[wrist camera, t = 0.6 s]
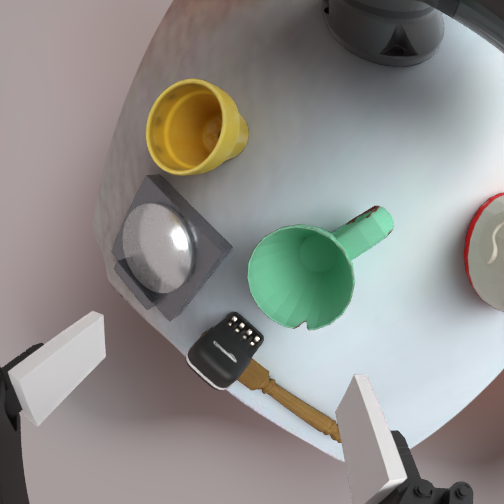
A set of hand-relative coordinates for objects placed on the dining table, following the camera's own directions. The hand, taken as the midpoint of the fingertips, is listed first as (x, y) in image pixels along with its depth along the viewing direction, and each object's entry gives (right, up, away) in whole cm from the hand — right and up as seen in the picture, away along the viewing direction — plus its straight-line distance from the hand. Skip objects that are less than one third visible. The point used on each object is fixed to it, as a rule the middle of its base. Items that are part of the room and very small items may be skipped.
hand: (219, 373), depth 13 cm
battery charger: (+1, -5, +27) cm, 28 cm away
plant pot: (-2, +21, +21) cm, 30 cm away
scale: (-11, +7, +29) cm, 32 cm away
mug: (+11, +7, +19) cm, 23 cm away
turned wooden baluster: (+6, -16, +28) cm, 33 cm away
